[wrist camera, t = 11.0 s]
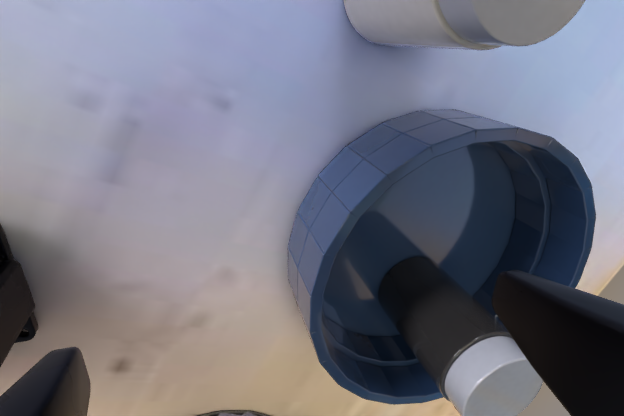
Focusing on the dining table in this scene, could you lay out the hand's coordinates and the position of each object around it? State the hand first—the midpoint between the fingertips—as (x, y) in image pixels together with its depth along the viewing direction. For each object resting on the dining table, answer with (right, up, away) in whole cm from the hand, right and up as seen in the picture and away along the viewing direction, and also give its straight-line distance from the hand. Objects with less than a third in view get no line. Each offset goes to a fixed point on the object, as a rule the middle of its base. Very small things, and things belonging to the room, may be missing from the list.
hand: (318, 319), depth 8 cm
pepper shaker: (+6, -3, +17) cm, 18 cm away
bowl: (+6, 0, +16) cm, 17 cm away
